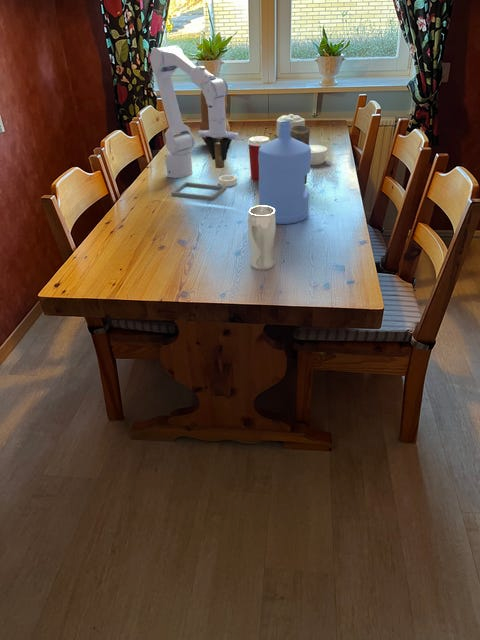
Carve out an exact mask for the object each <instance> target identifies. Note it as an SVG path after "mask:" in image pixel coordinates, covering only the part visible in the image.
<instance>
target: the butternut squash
mask: <svg viewBox="0 0 480 640" xmlns="http://www.w3.org/2000/svg"><path fill="white" fill-rule="evenodd" d="M227 103H228V101H227V95H226V96H225V117H226V131H229V132H231V127H230V123H229V121H228V118H227V108H228V105H227ZM200 109H201V110H200V111H201V123H200V126H199V131H200V130H209V117H208V105H207V103H206V98H205V96H204V94H203V90H201V91H200ZM201 139H202V140H203V142H205V140H206V137H201ZM221 140H223V139H221V138H217V141H216V143H219V142H220V141H221Z"/></svg>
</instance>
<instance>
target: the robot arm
mask: <svg viewBox="0 0 480 640" xmlns="http://www.w3.org/2000/svg"><path fill="white" fill-rule="evenodd" d="M183 51H184V50H183V49H182V48H181V47H179V45H177V44H174V45H168V46H162V47H153V48H152V49H151V51H150V55H149V61H150V62H149V63H150V65H151V68H152V72H153V76H154V77H155V80H156V81H155V82H156V84H157V88H158V91H159V96H160V100H161V103H162V107H163V109H164V113H165V117H166V121H167V125H168V128H167V130H166V131H165V133H164V138H165V147H166V150H167V151H168V152H167V153H166V155H165V166H166V167H165V168H166V174H167V175H166V178H171V179H181V178H184V177H189V176H192V175H193V173H194V172H193V163H192V151H193V148H194V147H195V144H196V143H195V142H196V141H195V138H194V135H193V133H192V132H191V131H192V130H191V128H190V127H189V126H188V125H186V124H184V122H183V118H182V114H181V111H180V106H179V103H178V99H177V94H176V91H175V87H174V84H173V81H172V76H173V75H174V73H175V72H176V71H177V70H178V69H180V70H181V71H183V72H184V73H185V74H187V75H188V76H190V77H189V78H190V81H191V83H193V84H194V85H195V86H196V87H198V88H199V89H200V90H201V91H202V90H203V94H204V96H205V98H206V103H207V105H208V117H209V130H200V129H199V130H198V131H197V137H198V138H199V139H200V138H201V139H202V137H206V140H205V141H204V143H205V144H206V147H207V148H208V150H209V153H210V155H211V160H213V161H215V153H214V143H216V141H217V138H221V139H223V140H221V141H220V145H221V150H222V161H224V162H225V161H226V160H227V157H228V151H229V148H230V145H231V142H232V141H233V140H234V141H238V140H239V138H240V135H239V134H240V133H239V132H233V131H230V132H229V131H226V118H227V116H226V117H225V96H226V97H227V95H228V91H229V86H228V83H227V81H226V80H225V78H223V77H216V75H214V74H212V73H211V72H209V70H207V69H206V66H204V65H197V66H196V65H195V64H194V63H193V62H192V61H191V60H190V59H189V58H188V57H187V56H186V55H185V54H184V52H183Z"/></svg>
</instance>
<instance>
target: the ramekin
mask: <svg viewBox="0 0 480 640" xmlns="http://www.w3.org/2000/svg"><path fill="white" fill-rule="evenodd" d="M309 146H310V148H311V163H310V166H317V165H321V164H324V163H325V161H326V158H327V155H328V153H327V152H328V151H329V150H328V147H327V146H324V145H320V144H309Z"/></svg>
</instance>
